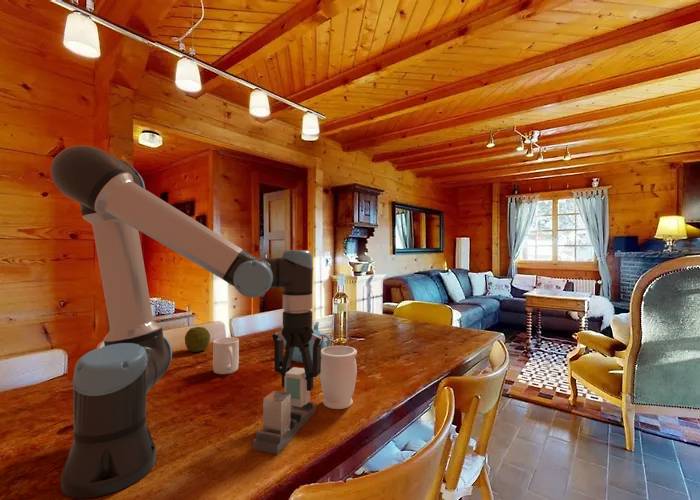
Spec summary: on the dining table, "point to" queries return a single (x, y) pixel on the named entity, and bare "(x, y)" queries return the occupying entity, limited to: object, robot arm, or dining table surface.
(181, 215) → the robot arm
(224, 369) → the mug
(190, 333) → the olive green ball
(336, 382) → the jar
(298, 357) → the teapot
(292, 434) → the rail
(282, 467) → the dining table surface
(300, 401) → the block
